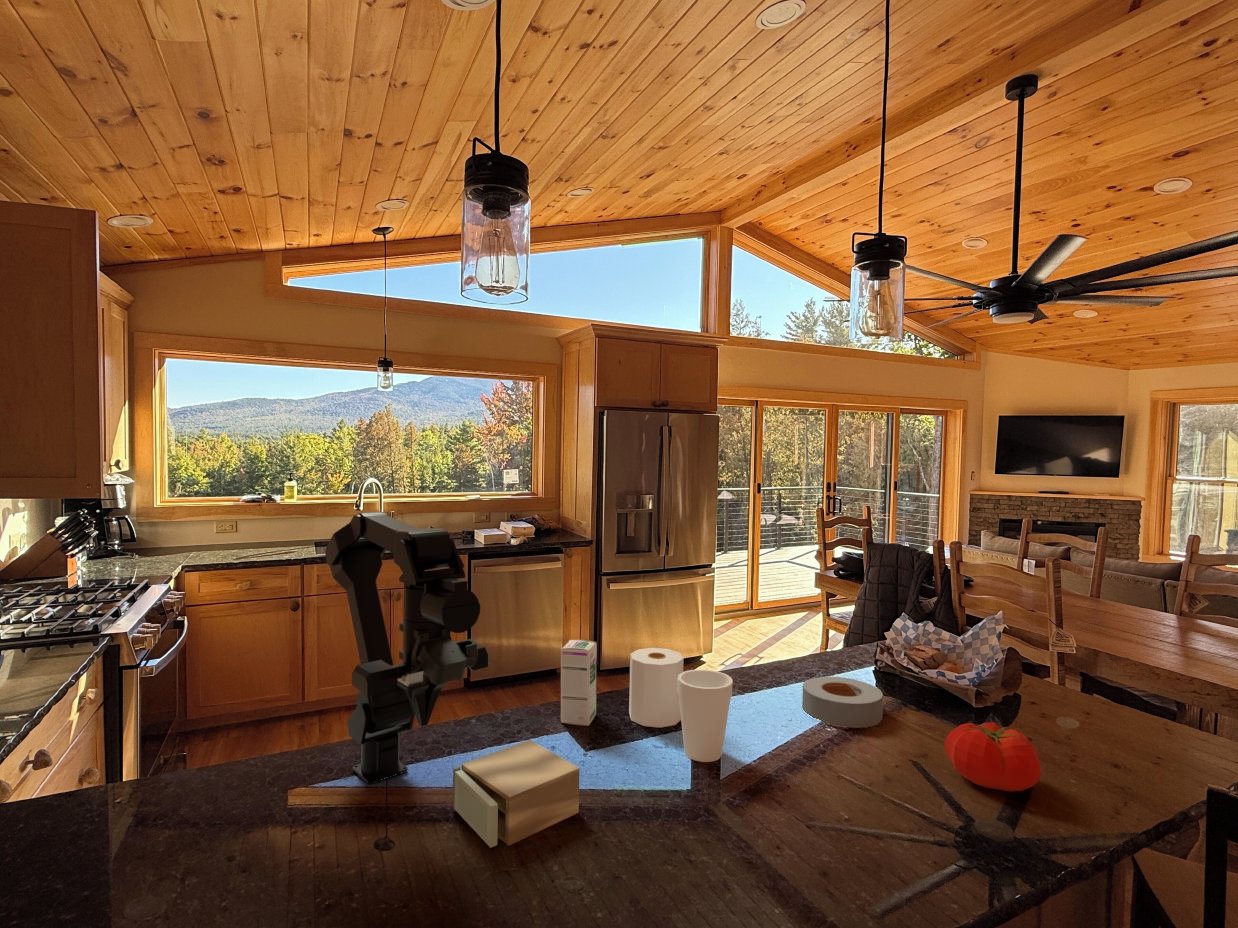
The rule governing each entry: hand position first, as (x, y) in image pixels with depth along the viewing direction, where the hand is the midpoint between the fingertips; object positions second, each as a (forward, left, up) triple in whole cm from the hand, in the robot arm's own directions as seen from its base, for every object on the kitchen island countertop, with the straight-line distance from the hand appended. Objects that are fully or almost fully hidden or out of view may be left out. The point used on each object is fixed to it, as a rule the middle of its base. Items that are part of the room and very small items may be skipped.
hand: (423, 724), depth 97 cm
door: (+10, +3, -11) cm, 15 cm away
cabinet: (+10, +10, -12) cm, 19 cm away
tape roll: (+23, +79, -12) cm, 83 cm away
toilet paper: (0, +49, -12) cm, 50 cm away
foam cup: (+16, +44, -12) cm, 48 cm away
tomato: (+53, +72, -12) cm, 90 cm away
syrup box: (-9, +37, -12) cm, 40 cm away
